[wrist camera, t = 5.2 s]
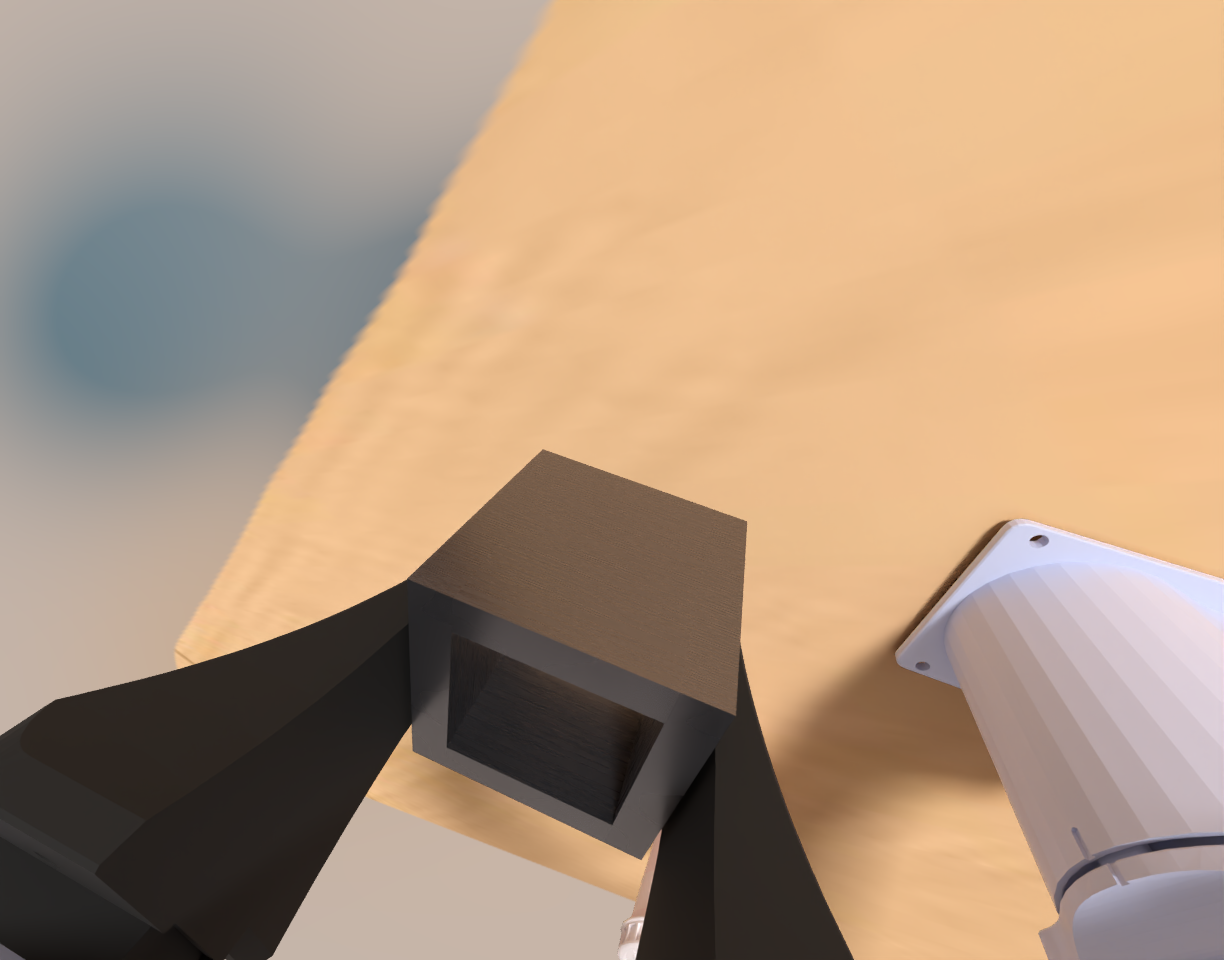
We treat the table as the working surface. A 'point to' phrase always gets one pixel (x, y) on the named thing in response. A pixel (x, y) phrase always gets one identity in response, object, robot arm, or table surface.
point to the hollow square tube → (580, 647)
